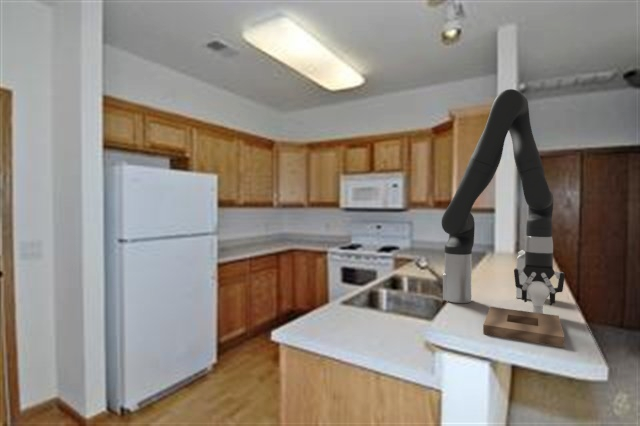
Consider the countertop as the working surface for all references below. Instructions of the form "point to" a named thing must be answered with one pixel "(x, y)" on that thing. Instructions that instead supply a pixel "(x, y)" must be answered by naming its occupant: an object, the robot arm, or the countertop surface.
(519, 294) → the milk carton
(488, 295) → the countertop surface
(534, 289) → the lightbulb
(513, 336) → the holder block
